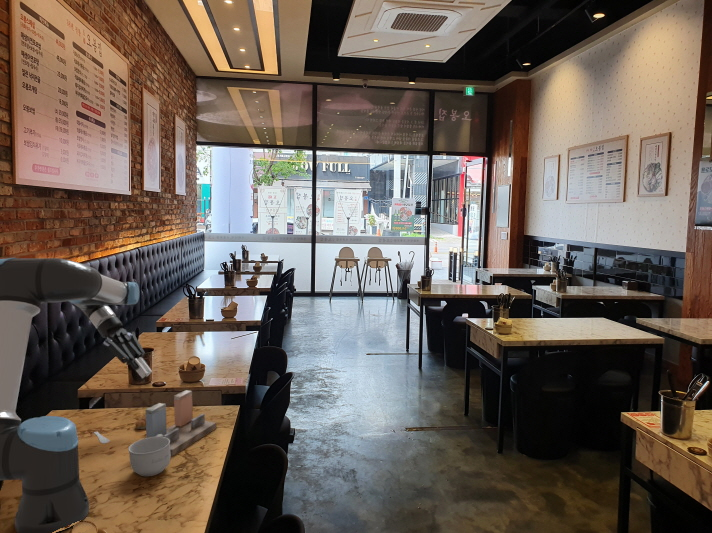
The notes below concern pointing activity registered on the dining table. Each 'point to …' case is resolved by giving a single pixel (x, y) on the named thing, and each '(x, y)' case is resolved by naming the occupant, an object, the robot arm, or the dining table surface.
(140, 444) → the teacup
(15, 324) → the robot arm
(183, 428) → the taupe stand
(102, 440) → the butter knife
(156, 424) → the grey rectangular block
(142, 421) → the pastry
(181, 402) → the pink upright block
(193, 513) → the dining table surface
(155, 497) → the dining table surface
